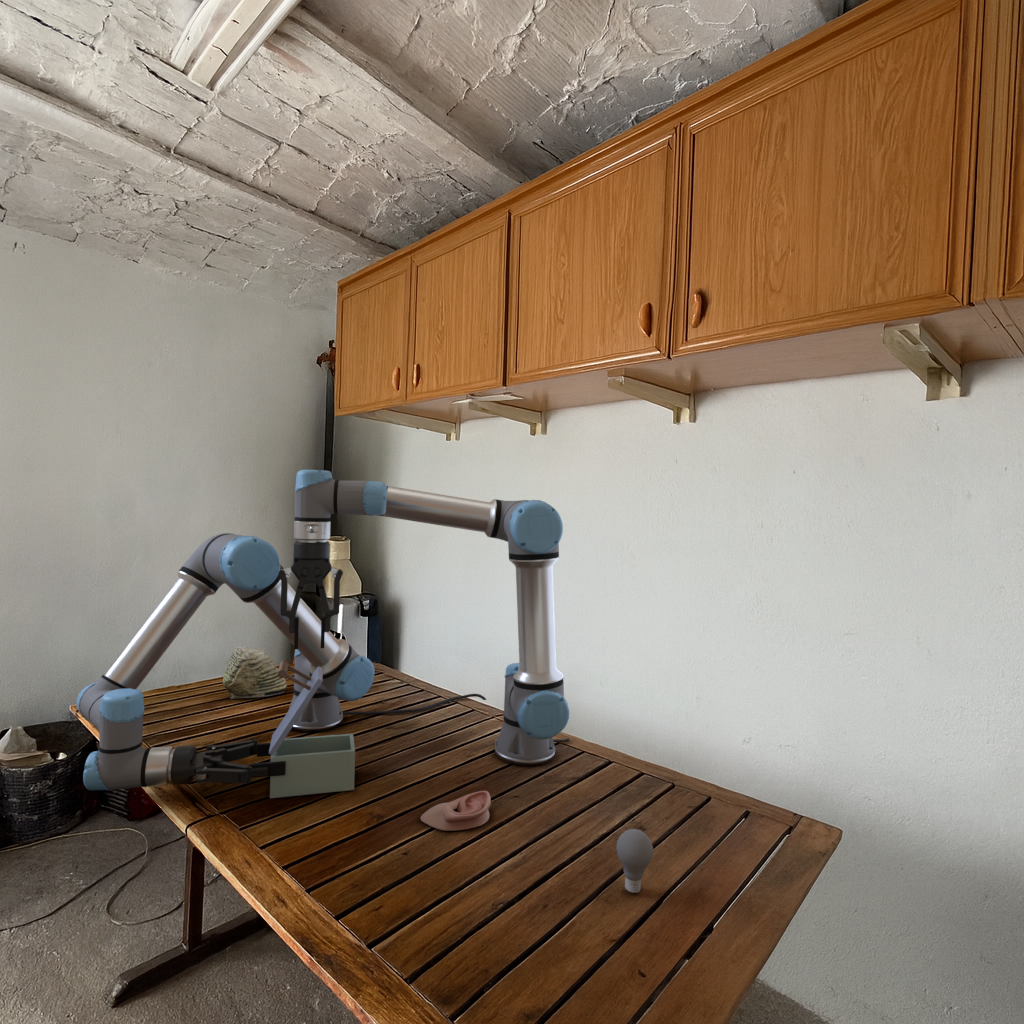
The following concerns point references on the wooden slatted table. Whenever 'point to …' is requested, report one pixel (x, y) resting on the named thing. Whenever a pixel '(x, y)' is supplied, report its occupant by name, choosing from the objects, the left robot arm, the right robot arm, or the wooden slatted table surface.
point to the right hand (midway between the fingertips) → (309, 647)
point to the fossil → (252, 674)
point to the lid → (298, 704)
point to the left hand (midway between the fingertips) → (286, 757)
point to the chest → (314, 765)
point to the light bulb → (634, 857)
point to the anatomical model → (459, 812)
